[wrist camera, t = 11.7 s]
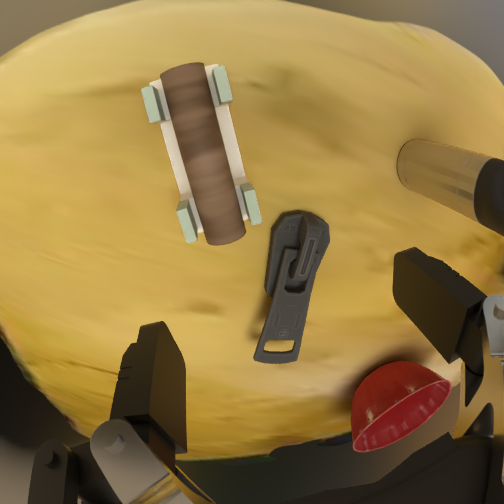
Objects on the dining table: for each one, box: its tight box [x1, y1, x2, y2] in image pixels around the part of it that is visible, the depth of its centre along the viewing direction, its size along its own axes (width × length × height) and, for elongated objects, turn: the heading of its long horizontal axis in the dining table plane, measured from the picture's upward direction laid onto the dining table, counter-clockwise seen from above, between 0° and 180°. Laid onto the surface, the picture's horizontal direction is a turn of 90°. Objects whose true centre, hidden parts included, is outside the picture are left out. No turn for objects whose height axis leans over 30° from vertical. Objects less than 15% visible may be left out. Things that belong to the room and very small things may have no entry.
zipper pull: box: [253, 210, 330, 364], centre depth 45 cm, size 9×7×25 cm
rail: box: [160, 63, 246, 245], centre depth 30 cm, size 20×5×5 cm, turn 13°
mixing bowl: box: [351, 361, 451, 452], centre depth 59 cm, size 28×28×15 cm
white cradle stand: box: [141, 63, 262, 244], centre depth 32 cm, size 22×9×9 cm, turn 13°
